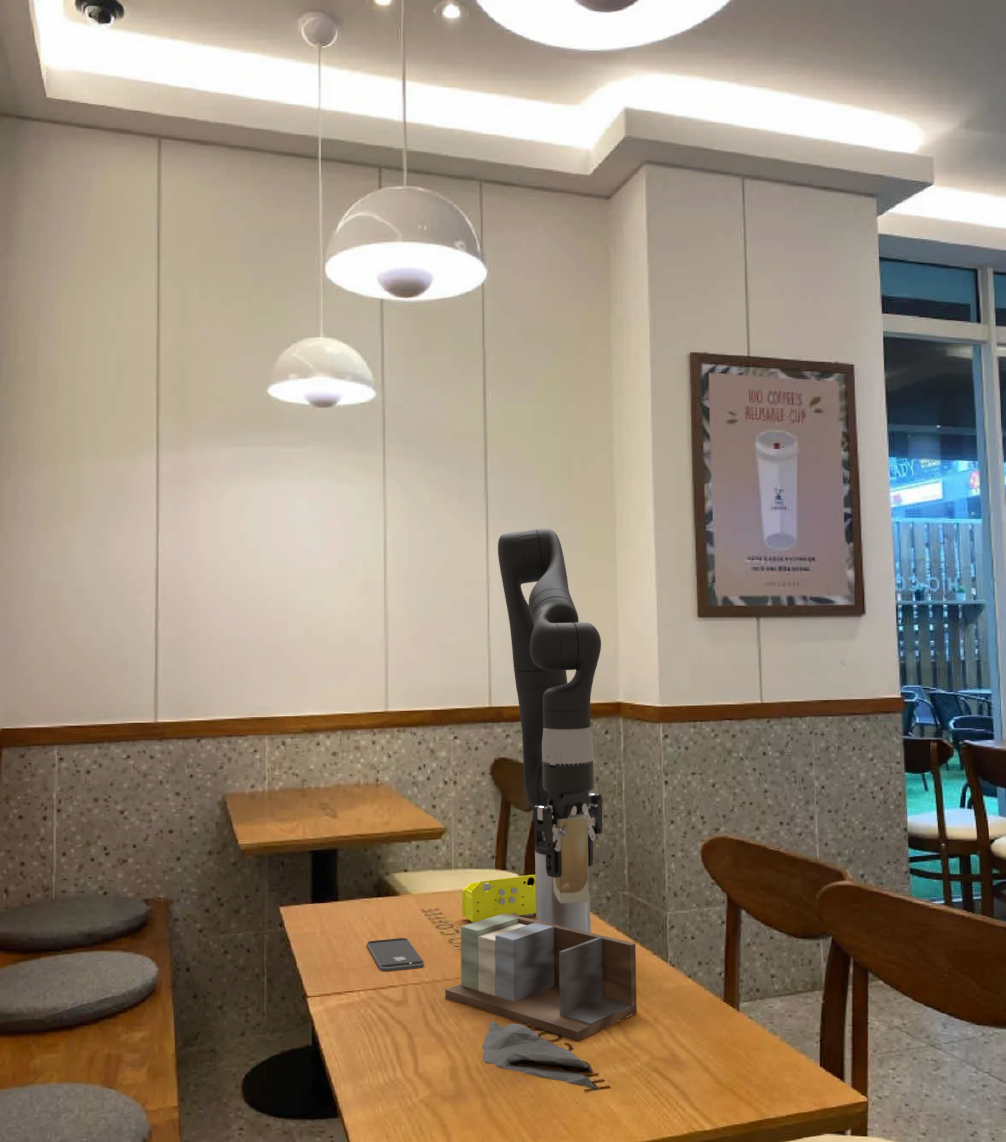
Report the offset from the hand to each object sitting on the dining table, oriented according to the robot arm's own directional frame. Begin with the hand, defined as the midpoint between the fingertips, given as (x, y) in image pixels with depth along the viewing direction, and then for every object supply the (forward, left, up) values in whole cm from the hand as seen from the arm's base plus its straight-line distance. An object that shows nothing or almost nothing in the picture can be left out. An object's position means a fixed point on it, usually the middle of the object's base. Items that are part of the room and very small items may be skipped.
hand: (570, 871), depth 149 cm
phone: (-3, -42, -22) cm, 48 cm away
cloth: (+13, +4, -22) cm, 26 cm away
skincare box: (0, 0, -4) cm, 4 cm away
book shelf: (-1, -7, -21) cm, 22 cm away
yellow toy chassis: (-34, -44, -22) cm, 60 cm away
